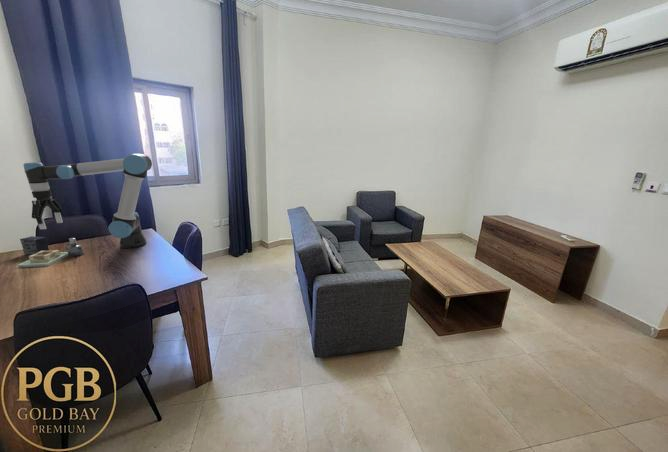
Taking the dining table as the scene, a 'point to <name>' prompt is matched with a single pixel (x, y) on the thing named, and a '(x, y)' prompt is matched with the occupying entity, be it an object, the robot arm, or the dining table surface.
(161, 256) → the dining table surface
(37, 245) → the small box
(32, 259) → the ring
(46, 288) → the dining table surface
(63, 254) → the tray
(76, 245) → the dark grey rounded piece
